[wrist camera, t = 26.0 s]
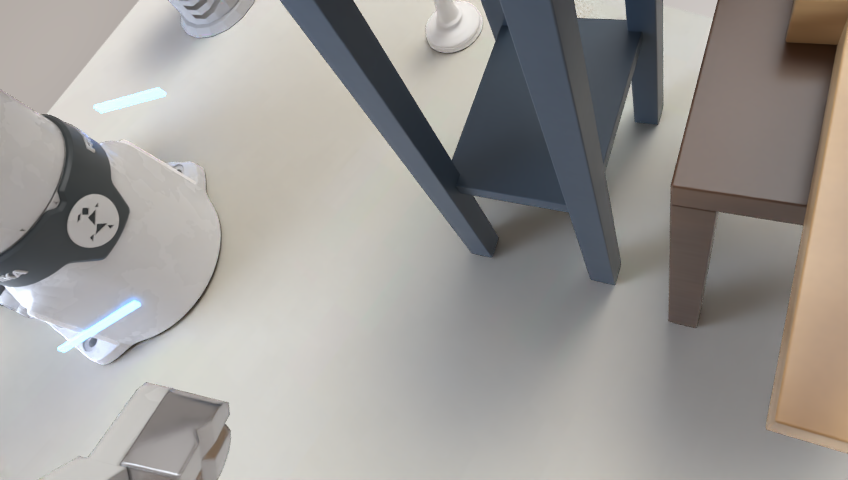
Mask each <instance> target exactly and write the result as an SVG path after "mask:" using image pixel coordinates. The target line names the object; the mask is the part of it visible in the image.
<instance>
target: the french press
mask: <svg viewBox="0 0 848 480" xmlns="http://www.w3.org/2000/svg"><path fill="white" fill-rule="evenodd" d="M168 1H169V2H170V3H171V4H172V5H173V6H174V7H175V8H176V9H177V10H178V11H179V12H180V13H181V25H182V27H183V29H184V30H185V32H186V33H187V34H189V35H191V36H194V37H196V38H202V37H212V36H214V35H217V34H219V33H221V32H223V31H225V30H228V29H229V28H230V27H232V26H233V25H234V24H235V23H236V22H238V21H239V20H240V19H241V18H242V17H243V16H244V15H245V14H246V12H247V11H248V10H249V8H250V7H251V5H252V4H253V3H254V0H168Z"/></svg>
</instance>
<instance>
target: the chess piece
mask: <svg viewBox="0 0 848 480" xmlns="http://www.w3.org/2000/svg"><path fill="white" fill-rule="evenodd" d="M434 3H435V7H436V11H435V12H434V13H433V14H432V15H431V17H430V18H429V20H428V22H427V25H426V36H427V40H428V43H429V45H430V46H431V47H432V48H433V49H435V50H436V51H439V52H443V53H451V52H456V51H459V50H462V49H464V48H466V47H467V46H469V45H470V44H471V43H473V42H474V41H475V40H476V38H477V37H478V36H479V34H480V32H481V30H482V26H483V19H482V16H481V14H480V12H479V11H478V9H477V8H476V6H474V5H473V4H471V3H469V2H466V1H454V2H453V1H452V0H434Z"/></svg>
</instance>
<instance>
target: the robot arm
mask: <svg viewBox="0 0 848 480" xmlns="http://www.w3.org/2000/svg"><path fill="white" fill-rule="evenodd" d="M164 96H166V93H165V92H164V91H163V90H162V89H161V88H159V87H158V88H154V89H151V90H147V91H143V92H140V93H136V94H132V95H129V96H125V97H122V98H118V99H114V100H111V101H107V102H103V103H100V104H96V105H94V107H93V108H94V109H96V110H97V111H98V112H100V113H105V112H108V111H112V110H116V109H120V108H123V107H127V106H131V105H134V104H138V103H142V102H146V101H149V100H153V99H157V98H160V97H164ZM220 241H221V230H220V223H219V218H218V215H217V212H216V210H215V208H214V206H213V204H212V203H211V201H210V199H209V197H208V195H207V193H206V178H205V172H204V169H203V168H202V167H201V166H200V165H198V164H196V163H194V162H191V161H186V162H163V161H161V160H159V159H158V158H156V157H154V156H153V155H151V154H149V153H148V152H146V151H144V150H143V149H141V148H139V147H138V146H136V145H134V144H133V143H131V142H129V141H126V140H123V139H122V140H120V141H105V142H101V143H97V142H96V141H94V140H93V139H91V138H90V137H88V136H87V135H86V134H85V133H84V132H82V131H81V130H80V129H78V128H76V127H75V126H73V125H71V124H69V123H66V122H63V121H62V120H60V119H58V118H56V117H54V116H52V115H48V114H39V113H38V112H36V111H34V110H33V109H31V108H30V107H28V106H26V105H25V104H23V103H22V102H20V101H19V100H17V99H15V98H14V97H12V96H11V95H9V94H8V93H6V92H4V91H3V90H1V89H0V305H2V306H5V307H7V308H9V309H11V310H14V311H17V312H18V313H19V314H21V315H23V316H26V317H28V318H32V319H33V318H37V319H39V320H42V321H45V322H47V323H48V324H49V325H50V326H51V327H53V328H54V329H55V330H56V331H57V332H58V333H60V334H61V335H62V336H63V337H64V338H65V339H67V340H68V341H67V342H65V343H64V344H62V345H61V346H59V347H58V351H61V352H66V351H68V350H70V349H71V348H73V347H76V348H77V349H78V350H80V351H81V352H82V353H83V354H84V355H85V356H87V357H88V358H89V359H90V360H92V361H93V362H96V363H98V364H101V365H107V364H109V363H111V362H112V361H114V360H115V359H117V358H118V357H119V356H120V355H121V354H123V353H124V352H125V351H126V350H127V349H128V348H129V347H131V346H132V345H134V344H135V343H138V342H140V341H142V340H145V339H148V338H150V337H153V336H155V335H157V334H159V333H161V332H163V331H165V330H166V329H168V328H169V327H171V326H172V325H174V324H175V323H176V322H177V321H179V320H180V319H181V318H182V317H183V316H184V315H185V314H186V313H187V312H188V311H189V310H190V309H191V308H192V307H193V305H194V304H195V303H196V302H197V300H198V299H199V297H200V296H201V295H202V293H203V291H204V290H205V288H206V286H207V284H208V282H209V280H210V278H211V276H212V274H213V271H214V269H215V266H216V263H217V259H218V255H219V250H220ZM229 415H230V412H229V403H228V402H225V401H221V400H217V399H213V398H209V397H205V396H201V395H197V394H193V393H188V392H184V391H180V390H176V389H173V388H169V387H165V386H160V385H156V384H152V383H147V382H146V383H144V384H143V385H142V386H141V387H139V388H138V389H137V390H136V391H135V393H134V394H133V395H132V397H131V398H130V400H129V401H128V402H127V404H126V405H125V407H124V408H123V409H122V411H121V412H120V413H119V415H118V416H117V418H116V419H115V420H114V422H113V423H112V425H111V426H110V427H109V429H108V430H107V431H106V433H105V434H104V436H103V437H102V438H101V440H100V441H99V443H98V444H97V445H96V447H95V448H94V449H93V451H92V452H91V454H90V455H89V456H88V458H86V457H81V456H79V457H77V458H75V459H73V460H72V461H70V462H68V463H66V464H64V465H63V466H61V467H59V468H57V469H55V470H54V471H52V472H50V473H48V474H46V475H45V476H43V477H41V478H39V479H37V480H218V478H219V476H220V474H221V472H222V470H223V468H224V465H225V462H226V459H227V456H228V453H229V449H230V442H231V430H230V429H229V428H228V427H227V425H226V424H225V422H226V421H227V419H228V417H229Z"/></svg>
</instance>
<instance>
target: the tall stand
mask: <svg viewBox="0 0 848 480" xmlns="http://www.w3.org/2000/svg"><path fill="white" fill-rule="evenodd" d="M280 1H281V2H282V4H283V5H284V6H285V8H286V9H287V10H288V12H289V13H290V14H291V16H292V17H293V18H294V20H295V21H296V22H297V24H298V25H299V26H300V28H301V29H302V30H303V31H304V33H305V34H306V35H307V37H308V38H309V39H310V41H311V42H312V43H313V45H314V46H315V47H316V49H317V50H318V51H319V53H320V54H321V55H322V57H323V58H324V59H325V60H326V62H327V63H328V64H329V66H330V67H331V68H332V70H333V71H334V72H335V74H336V75H337V76H338V78H339V79H340V80H341V82H342V83H343V84H344V86H345V87H346V88H347V89H348V91H349V92H350V93H351V95H352V96H353V97H354V99H355V100H356V101H357V103H358V104H359V105H360V107H361V108H362V109H363V111H364V112H365V113H366V115H367V116H368V117H369V119H370V120H371V121H372V122H373V124H374V125H375V126H376V128H377V129H378V130H379V132H380V133H381V134H382V136H383V137H384V138H385V140H386V141H387V142H388V144H389V145H390V146H391V148H392V149H393V150H394V151H395V153H396V154H397V155H398V157H399V158H400V159H401V161H402V162H403V163H404V165H405V166H406V167H407V169H408V170H409V171H410V173H411V174H412V175H413V177H414V178H415V179H416V180H417V182H418V183H419V184H420V186H421V187H422V188H423V190H424V191H425V192H426V194H427V195H428V196H429V198H430V199H431V200H432V202H433V203H434V204H435V206H436V207H437V208H438V209H439V211H440V212H441V213H442V215H443V216H444V217H445V219H446V220H447V221H448V223H449V224H450V225H451V227H452V228H453V229H454V231H455V232H456V233H457V235H458V236H459V237H460V238H461V240H462V241H463V242H464V244H465V245H466V246H467V248H468V249H469V250H470V252H471V253H473V254H477V255H482V256H486V257H491V258H492V257H493V254H494V251H495V248H496V244H497V241H498V238H499V237H498V235H497V234H496V232H495V230H494V229H493V227H492V226H491V224H490V222H489V221H488V219H487V217H486V216H485V214H484V213H483V211H482V209H481V208H480V206H479V204H478V203H477V201H476V200H475V198H474V196H479V197H484V198H490V199H496V200H501V201H507V202H512V203H518V204H524V205H529V206H535V207H540V208H546V209H552V210H557V211H563V212H568V213H569V215H570V218H571V221H572V224H573V227H574V230H575V234H576V237H577V240H578V243H579V246H580V249H581V252H582V255H583V258H584V261H585V264H586V267H587V270H588V273H589V276H590V279H591V280H594V281H598V282H603V283H607V284H612V285H615V284H616V281H617V277H618V273H619V269H620V266H621V260H620V254H619V249H618V243H617V238H616V232H615V227H614V221H613V215H612V210H611V204H610V199H609V193H608V188H607V182H606V177H605V170H606V167H607V163H608V160H609V156H610V153H611V149H612V146H613V142H614V139H615V136H616V132H617V129H618V125H619V122H620V118H621V115H622V111H623V108H624V104H625V101H626V97H627V94H628V91H629V87H630V84H631V81H632V94H633V107H634V119H635V122H637V123H647V124H656V125H658V124H659V120H660V117H661V113H662V109H663V0H625V5H626V18H627V20H614V19H587V18H577V15H576V10H575V4H574V0H481V2H482V5H483V8H484V10H485V13H486V16H487V19H488V21H489V24H490V27H491V30H492V32H493V35H494V38H495V41H496V42H495V44H494V47H493V50H492V52H491V55H490V58H489V61H488V63H487V66H486V69H485V72H484V74H483V77H482V80H481V82H480V85H479V88H478V91H477V93H476V96H475V99H474V101H473V104H472V107H471V110H470V112H469V115H468V118H467V121H466V123H465V126H464V129H463V131H462V134H461V137H460V140H459V142H458V145H457V148H456V151H455V153H454V156H453V159H452V160H451V159H450V157H449V156H448V154H447V152H446V151H445V149H444V147H443V146H442V144H441V143H440V141H439V139H438V138H437V136H436V134H435V133H434V131H433V130H432V128H431V126H430V125H429V123H428V121H427V120H426V118H425V117H424V115H423V113H422V112H421V110H420V108H419V107H418V105H417V103H416V102H415V100H414V99H413V97H412V95H411V94H410V92H409V90H408V89H407V87H406V86H405V84H404V82H403V81H402V79H401V77H400V76H399V74H398V73H397V71H396V69H395V68H394V66H393V64H392V63H391V61H390V60H389V58H388V56H387V55H386V53H385V51H384V50H383V48H382V46H381V45H380V43H379V42H378V40H377V38H376V37H375V35H374V33H373V32H372V30H371V29H370V27H369V25H368V24H367V22H366V20H365V19H364V17H363V16H362V14H361V12H360V11H359V9H358V7H357V6H356V4H355V3H354V1H353V0H280Z"/></svg>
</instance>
